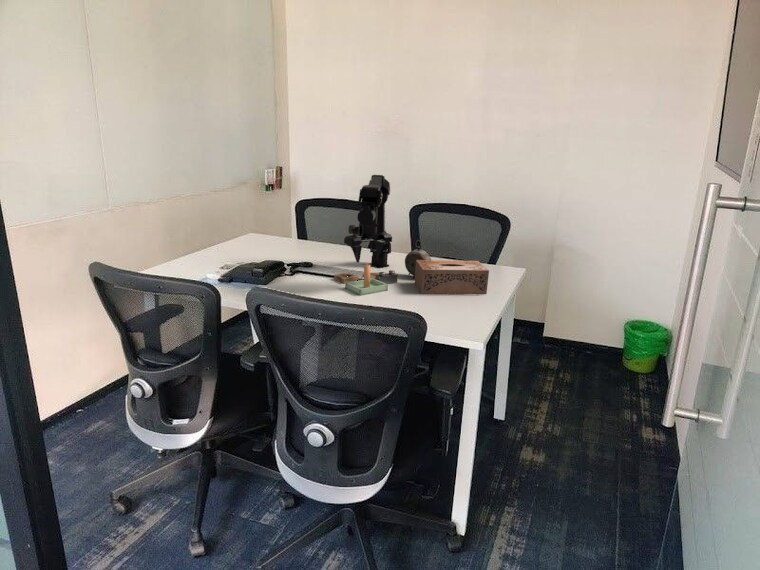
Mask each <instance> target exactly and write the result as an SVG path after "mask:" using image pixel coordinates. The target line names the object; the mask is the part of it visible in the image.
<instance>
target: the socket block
mask: <svg viewBox="0 0 760 570" xmlns="http://www.w3.org/2000/svg"><path fill="white" fill-rule="evenodd" d="M333 276H334V277H333V278H334V280H335V281H337V282H339V283H342V284H343V285H344V284H345V283H346V282H352V281H357V280H359V276H358V275H355V274H353V273H351V272H348V271H347V272H343V273H337V274H336V273H335V274H333ZM347 276H348V277H347Z"/></svg>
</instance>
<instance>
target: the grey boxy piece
mask: <svg viewBox="0 0 760 570" xmlns="http://www.w3.org/2000/svg"><path fill="white" fill-rule="evenodd" d="M384 272H385V271H379V275H375V279H376V280H378V281H381V282H383V283H385V284H388V285H392V284H397V283H398V276H399V275H398V273H396V272H395V270H388V273H387V272H385V273H387V274H385V273H384Z"/></svg>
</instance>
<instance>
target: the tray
mask: <svg viewBox="0 0 760 570" xmlns="http://www.w3.org/2000/svg"><path fill="white" fill-rule="evenodd" d="M388 288H389V284H385V283H383V282H381V281H378V280H376V279H374V278H370V287H368V288H364V280H363V279H358V281H352V282H346V283H345V290H347V291H350V292H351V293H354V294H356V295H358V296H359V297H360V296H365V295H371V294H376V293H377V294H378V293H382V292H387V291H389V290H388Z"/></svg>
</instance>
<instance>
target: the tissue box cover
mask: <svg viewBox="0 0 760 570" xmlns="http://www.w3.org/2000/svg"><path fill="white" fill-rule="evenodd" d="M489 273H490V270H489V269H488V268H487V267H486V266H485V265H483V263H481V262H480V261H479V260H448V259H447V260H444V259H443V260H441V259H440V260H439V259H438V260H437V259H435V260H434V259H433V260H432V259H431V260H416V268H415V278H414V285H415V286H416V288H417V290H418V291H419V292H420V294H421V295H464V294H487V293H488V283H489Z"/></svg>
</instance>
